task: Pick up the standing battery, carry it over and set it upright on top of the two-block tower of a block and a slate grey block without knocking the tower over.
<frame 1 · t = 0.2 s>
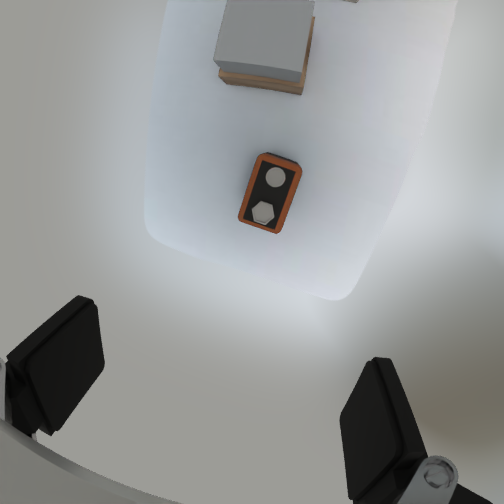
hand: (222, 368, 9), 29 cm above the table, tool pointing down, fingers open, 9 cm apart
battery: (273, 182, 36), on the table
top block: (267, 43, 26), point 5 cm above the table, touching bottom block
bottom block: (269, 56, 31), on the table, touching top block
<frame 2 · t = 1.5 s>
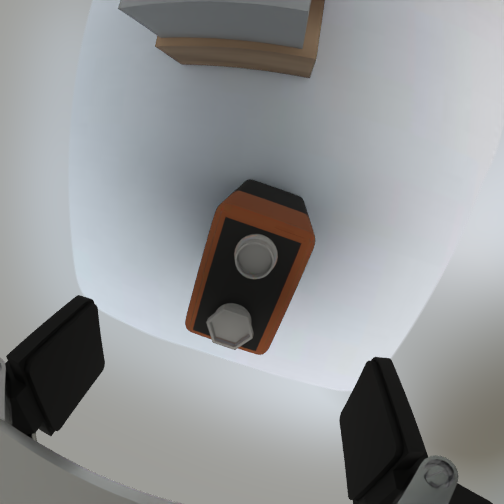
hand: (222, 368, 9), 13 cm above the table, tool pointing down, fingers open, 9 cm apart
battery: (260, 230, 22), on the table
bottom block: (254, 15, 16), on the table, touching top block
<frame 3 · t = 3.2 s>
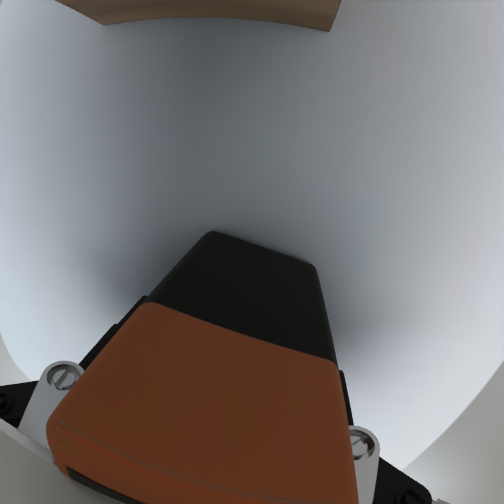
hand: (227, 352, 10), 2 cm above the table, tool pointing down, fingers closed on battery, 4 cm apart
battery: (237, 317, 12), on the table, touching gripper
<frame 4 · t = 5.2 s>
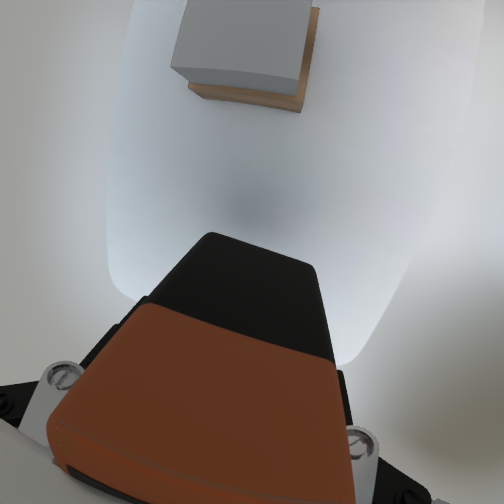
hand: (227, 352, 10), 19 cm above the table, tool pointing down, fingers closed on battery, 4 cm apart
battery: (237, 318, 12), point 17 cm above the table, touching gripper
top block: (251, 43, 19), point 5 cm above the table, touching bottom block
bottom block: (259, 61, 24), on the table, touching top block
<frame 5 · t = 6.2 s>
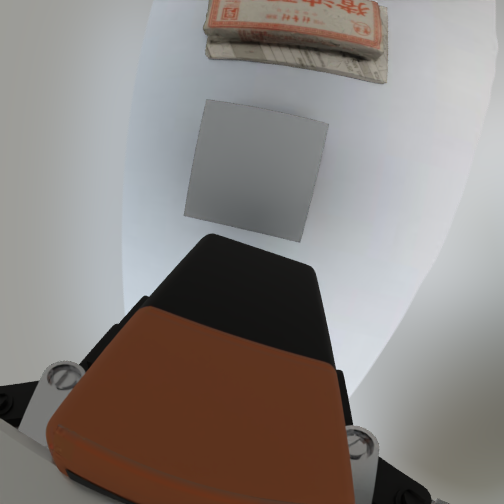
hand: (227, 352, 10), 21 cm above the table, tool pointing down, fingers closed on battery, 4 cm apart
battery: (237, 319, 12), point 18 cm above the table, touching gripper
top block: (259, 167, 23), point 5 cm above the table, touching bottom block
packaged product: (300, 29, 24), on the table
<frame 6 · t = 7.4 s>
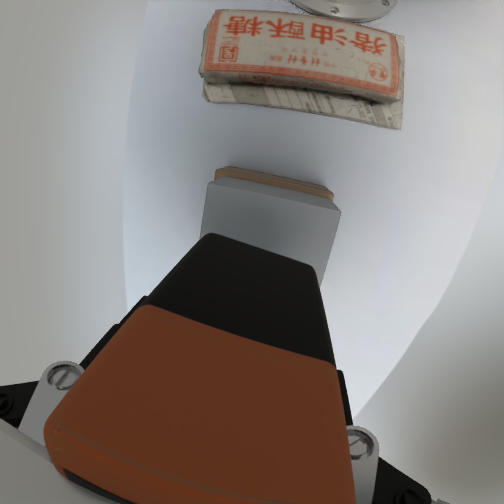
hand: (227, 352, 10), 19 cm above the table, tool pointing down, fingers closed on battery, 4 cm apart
battery: (237, 319, 12), point 17 cm above the table, touching gripper
top block: (266, 237, 23), point 5 cm above the table, touching bottom block
bottom block: (267, 223, 28), on the table, touching top block
packaged product: (307, 64, 23), on the table
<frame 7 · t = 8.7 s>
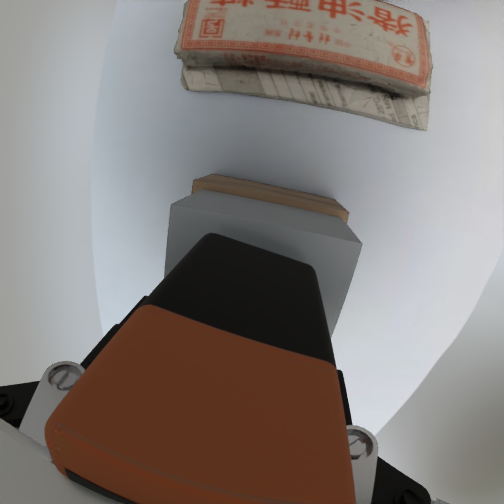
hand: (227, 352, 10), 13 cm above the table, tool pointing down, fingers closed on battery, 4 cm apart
battery: (237, 318, 12), point 11 cm above the table, touching gripper
top block: (258, 268, 18), point 5 cm above the table, touching bottom block
bottom block: (261, 244, 23), on the table, touching top block
packaged product: (312, 46, 18), on the table
when the fingers open (13 cm above the table, at t = 8.9 s): battery drops 1 cm, resting on top block.
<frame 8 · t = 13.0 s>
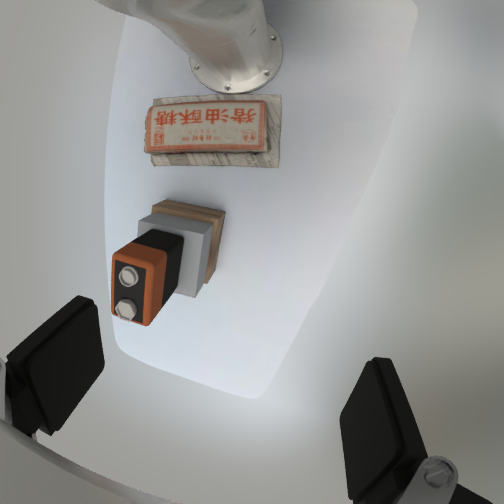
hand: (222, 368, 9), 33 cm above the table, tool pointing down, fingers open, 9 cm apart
battery: (165, 257, 34), point 10 cm above the table, touching top block
top block: (180, 246, 39), point 5 cm above the table, touching battery, bottom block
bottom block: (190, 235, 44), on the table, touching top block
packaged product: (214, 130, 39), on the table
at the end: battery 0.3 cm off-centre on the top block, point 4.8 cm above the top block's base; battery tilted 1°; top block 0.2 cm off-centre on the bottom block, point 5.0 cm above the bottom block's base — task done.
